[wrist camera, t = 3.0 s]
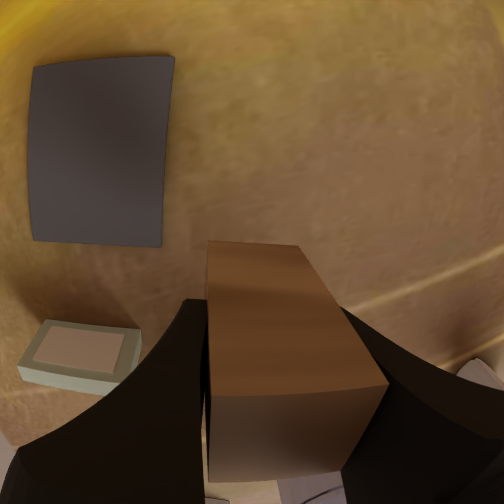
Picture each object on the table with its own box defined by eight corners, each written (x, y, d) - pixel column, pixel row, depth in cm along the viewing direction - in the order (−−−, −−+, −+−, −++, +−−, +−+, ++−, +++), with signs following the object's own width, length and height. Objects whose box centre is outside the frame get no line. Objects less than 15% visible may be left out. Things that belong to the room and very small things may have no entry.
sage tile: (142, 343, 20) (130, 398, 15) (49, 332, 19) (23, 380, 14) (140, 327, 19) (126, 382, 15) (45, 316, 18) (16, 363, 14)
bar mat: (162, 244, 17) (160, 247, 17) (36, 237, 16) (33, 240, 16) (175, 58, 14) (174, 56, 13) (37, 67, 12) (33, 66, 12)
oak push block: (284, 320, 13) (340, 471, 6) (203, 318, 12) (208, 482, 6) (298, 246, 12) (389, 384, 5) (208, 240, 11) (211, 395, 5)
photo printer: (446, 381, 27) (507, 467, 15) (474, 350, 25) (543, 431, 14) (474, 400, 30) (522, 466, 19) (497, 375, 29) (550, 439, 18)
